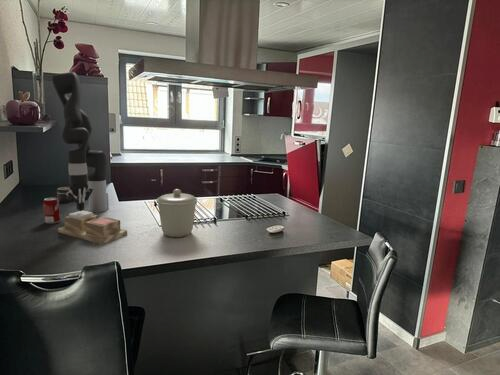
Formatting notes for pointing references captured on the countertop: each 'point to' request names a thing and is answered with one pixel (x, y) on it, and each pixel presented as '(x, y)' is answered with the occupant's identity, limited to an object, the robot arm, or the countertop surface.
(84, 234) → the frame
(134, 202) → the countertop surface
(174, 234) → the canister
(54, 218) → the soda can
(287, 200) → the countertop surface
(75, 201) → the robot arm
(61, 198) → the jar
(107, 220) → the red key
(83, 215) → the white key
